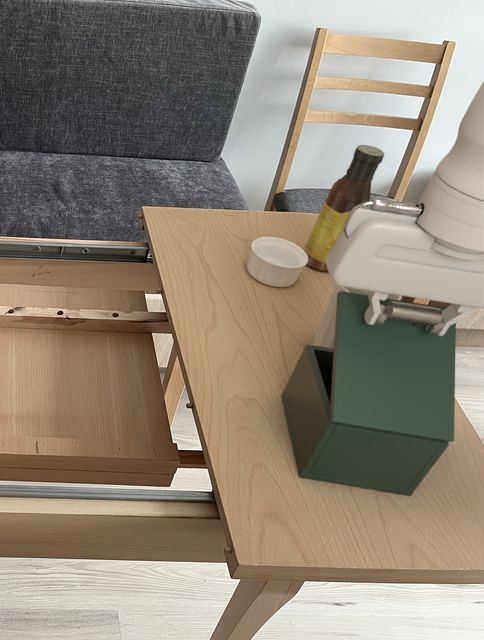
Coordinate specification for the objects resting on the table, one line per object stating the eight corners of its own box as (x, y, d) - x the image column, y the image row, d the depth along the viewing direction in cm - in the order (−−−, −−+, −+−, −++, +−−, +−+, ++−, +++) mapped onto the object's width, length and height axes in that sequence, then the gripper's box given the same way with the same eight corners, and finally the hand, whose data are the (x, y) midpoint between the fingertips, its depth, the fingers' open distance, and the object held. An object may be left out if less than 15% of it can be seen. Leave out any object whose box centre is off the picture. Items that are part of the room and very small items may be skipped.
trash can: (280, 395, 89) (306, 343, 83) (379, 411, 89) (411, 360, 83) (299, 477, 79) (329, 424, 73) (410, 496, 78) (449, 444, 73)
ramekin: (276, 255, 116) (285, 233, 113) (310, 286, 110) (320, 263, 107) (232, 262, 113) (240, 239, 110) (264, 293, 107) (274, 270, 104)
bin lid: (337, 293, 77) (357, 278, 72) (451, 311, 76) (480, 297, 72) (329, 422, 73) (350, 415, 69) (449, 442, 73) (479, 436, 68)
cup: (357, 383, 92) (398, 312, 85) (298, 360, 95) (332, 289, 87) (366, 351, 98) (405, 282, 90) (310, 330, 101) (343, 261, 93)
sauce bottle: (329, 278, 112) (383, 164, 99) (293, 261, 115) (341, 148, 102) (344, 264, 116) (398, 152, 103) (310, 248, 119) (358, 137, 106)
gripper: (367, 211, 63) (310, 329, 72) (596, 246, 62) (510, 361, 71) (351, 180, 68) (299, 294, 77) (563, 212, 67) (486, 324, 76)
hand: (402, 327), depth 74 cm, fingers closed on bin lid, 5 cm apart
